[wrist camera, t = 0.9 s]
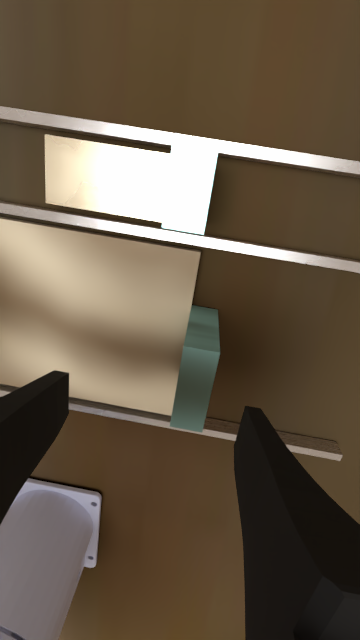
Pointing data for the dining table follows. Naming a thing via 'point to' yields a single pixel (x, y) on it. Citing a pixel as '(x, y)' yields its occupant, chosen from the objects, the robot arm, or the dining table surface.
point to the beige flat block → (107, 319)
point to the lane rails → (159, 213)
